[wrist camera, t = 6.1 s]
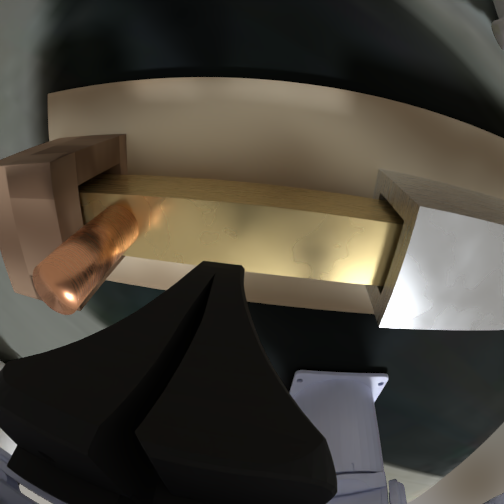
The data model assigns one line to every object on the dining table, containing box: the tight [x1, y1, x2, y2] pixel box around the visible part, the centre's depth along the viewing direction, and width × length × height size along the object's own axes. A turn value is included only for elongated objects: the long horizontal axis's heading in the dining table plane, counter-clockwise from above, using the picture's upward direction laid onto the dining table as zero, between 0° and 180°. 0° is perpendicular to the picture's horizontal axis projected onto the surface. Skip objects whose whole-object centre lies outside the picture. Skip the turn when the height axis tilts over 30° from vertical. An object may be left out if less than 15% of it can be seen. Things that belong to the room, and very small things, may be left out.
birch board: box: [48, 77, 504, 314], centre depth 16 cm, size 13×33×1 cm, turn 86°
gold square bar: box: [33, 174, 404, 315], centre depth 12 cm, size 3×19×8 cm, turn 86°
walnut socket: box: [0, 134, 128, 311], centre depth 14 cm, size 7×5×6 cm
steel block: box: [365, 169, 504, 330], centre depth 13 cm, size 6×12×6 cm, turn 86°
